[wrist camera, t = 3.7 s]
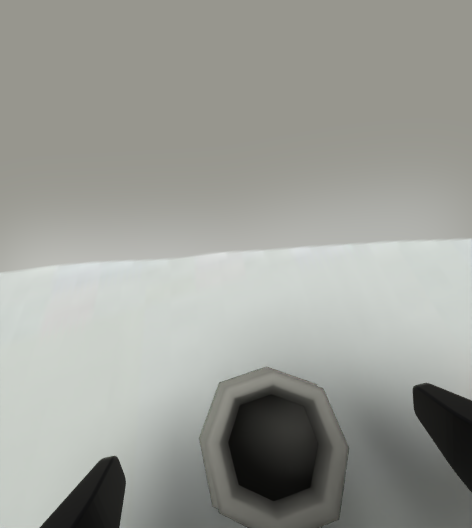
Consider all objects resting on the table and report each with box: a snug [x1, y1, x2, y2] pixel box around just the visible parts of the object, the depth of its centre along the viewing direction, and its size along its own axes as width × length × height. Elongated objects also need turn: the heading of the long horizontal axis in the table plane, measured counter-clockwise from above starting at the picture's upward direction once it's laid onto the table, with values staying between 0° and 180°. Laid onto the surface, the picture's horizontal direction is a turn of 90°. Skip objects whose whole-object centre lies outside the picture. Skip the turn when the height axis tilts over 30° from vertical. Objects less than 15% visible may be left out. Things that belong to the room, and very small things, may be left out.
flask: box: [199, 367, 349, 528], centre depth 11 cm, size 7×7×10 cm
